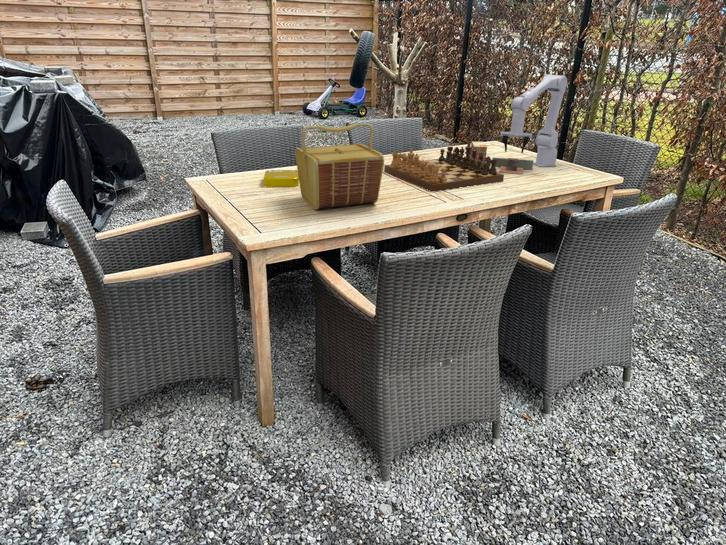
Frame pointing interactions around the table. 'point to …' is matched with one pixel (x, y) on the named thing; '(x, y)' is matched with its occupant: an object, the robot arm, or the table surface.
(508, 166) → the letter cube
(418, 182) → the chess set
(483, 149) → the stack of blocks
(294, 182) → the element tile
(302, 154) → the picnic basket
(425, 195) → the table surface
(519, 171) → the tile
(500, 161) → the screen
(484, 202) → the table surface
